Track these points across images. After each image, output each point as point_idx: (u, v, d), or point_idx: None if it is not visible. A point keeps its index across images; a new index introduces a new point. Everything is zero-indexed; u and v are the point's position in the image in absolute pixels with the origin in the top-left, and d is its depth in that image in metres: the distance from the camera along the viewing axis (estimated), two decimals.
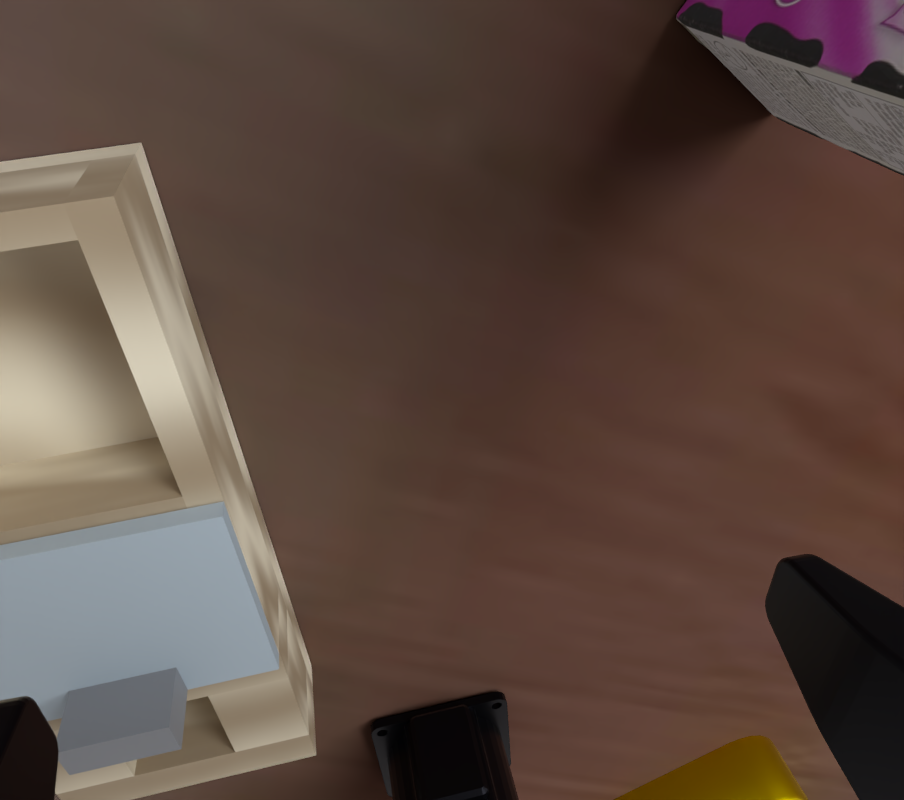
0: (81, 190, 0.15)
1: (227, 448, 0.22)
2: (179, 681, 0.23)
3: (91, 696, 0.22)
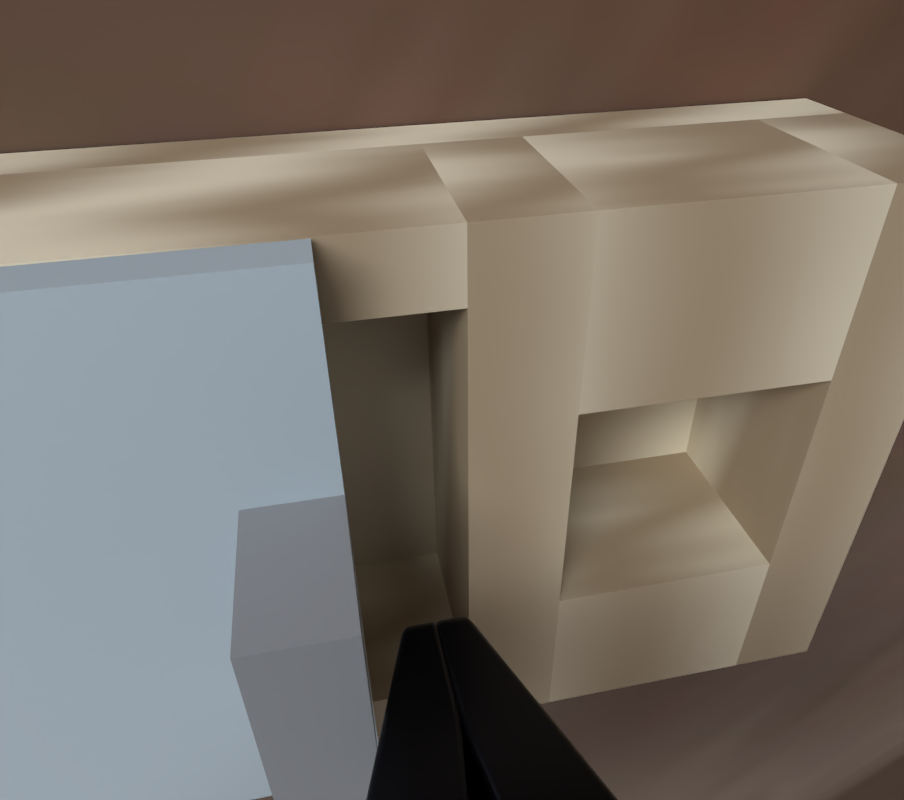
0: None
1: None
2: (274, 518, 0.08)
3: None
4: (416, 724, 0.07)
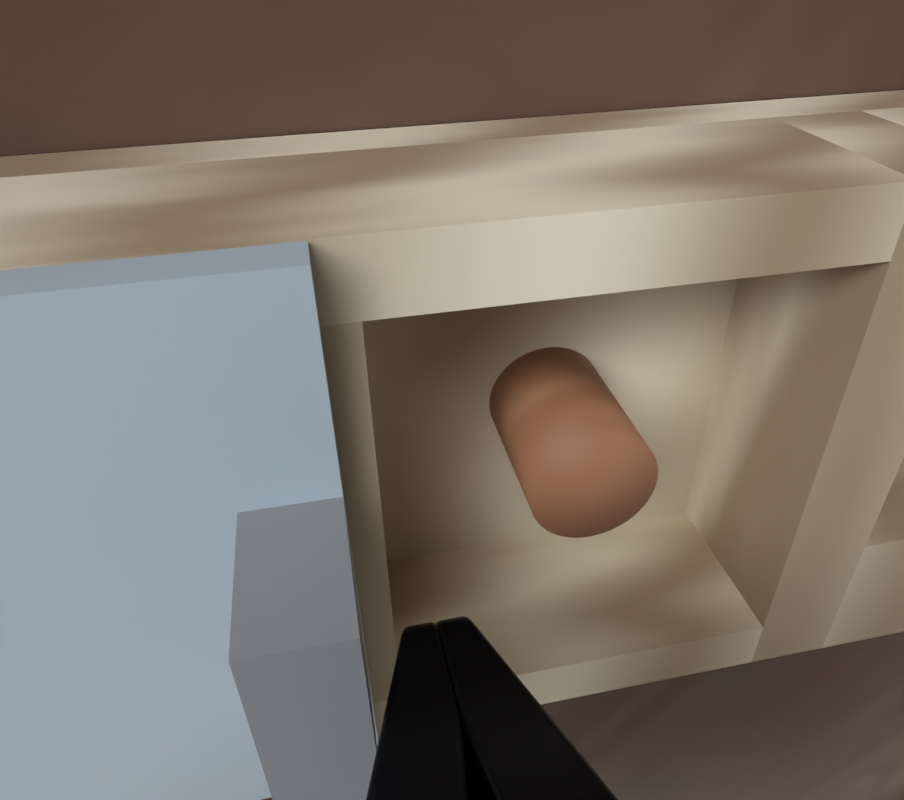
0: None
1: (302, 170, 0.09)
2: (272, 521, 0.08)
3: None
4: (416, 724, 0.07)
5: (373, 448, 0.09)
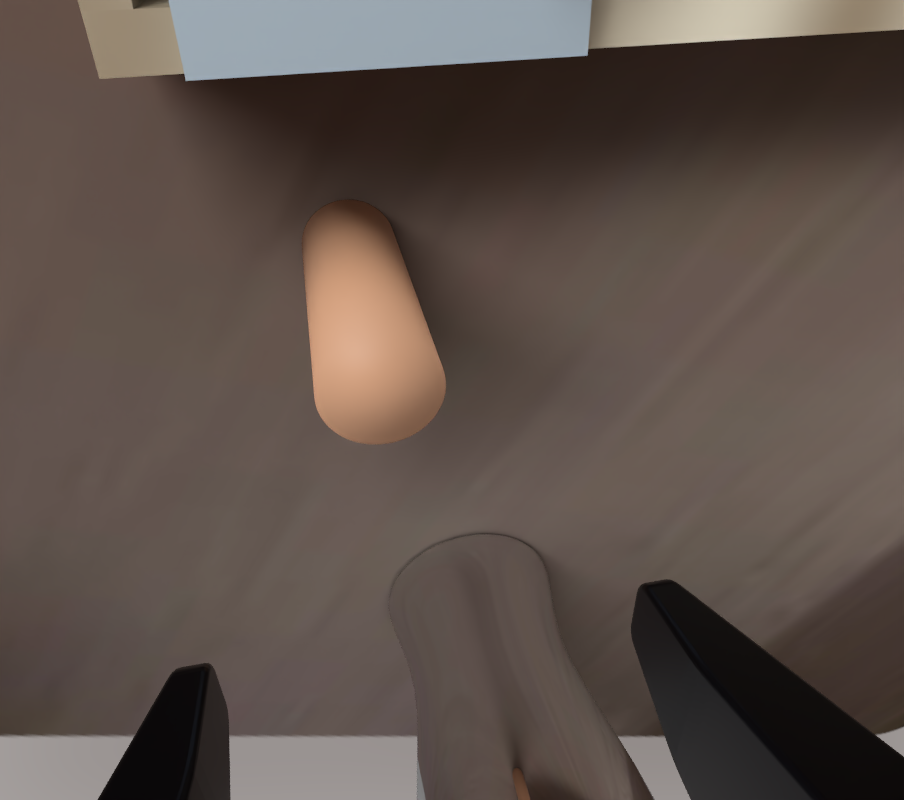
0: None
1: None
2: None
3: None
4: (142, 780, 0.07)
5: None
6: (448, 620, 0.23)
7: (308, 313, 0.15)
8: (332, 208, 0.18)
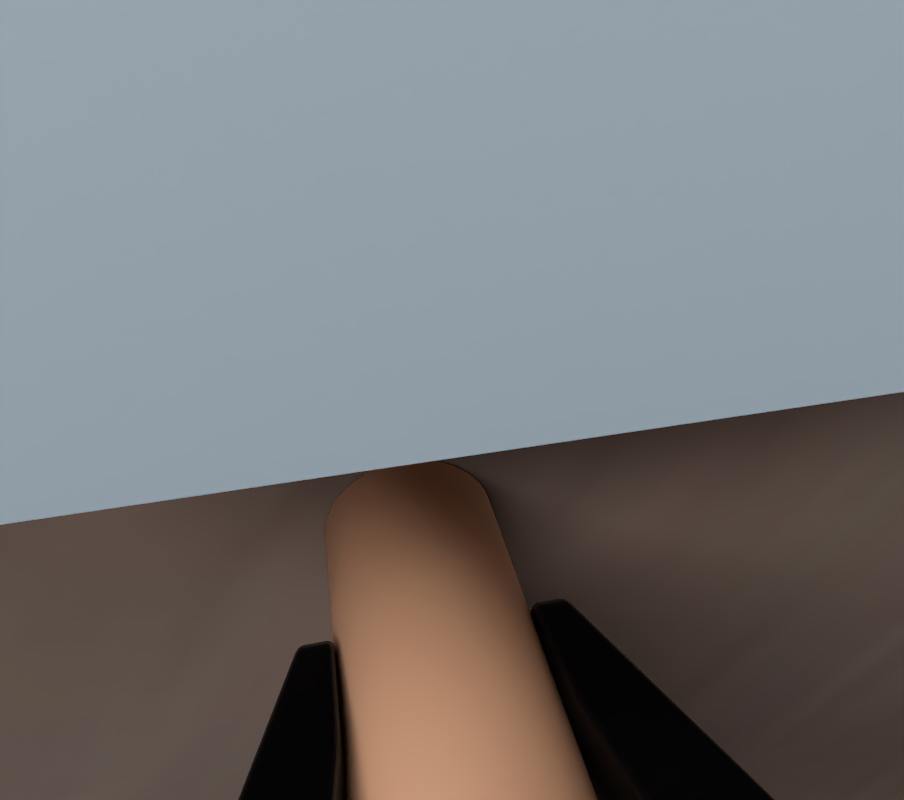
0: None
1: None
2: None
3: None
4: (291, 750, 0.07)
5: None
6: None
7: None
8: (385, 488, 0.09)
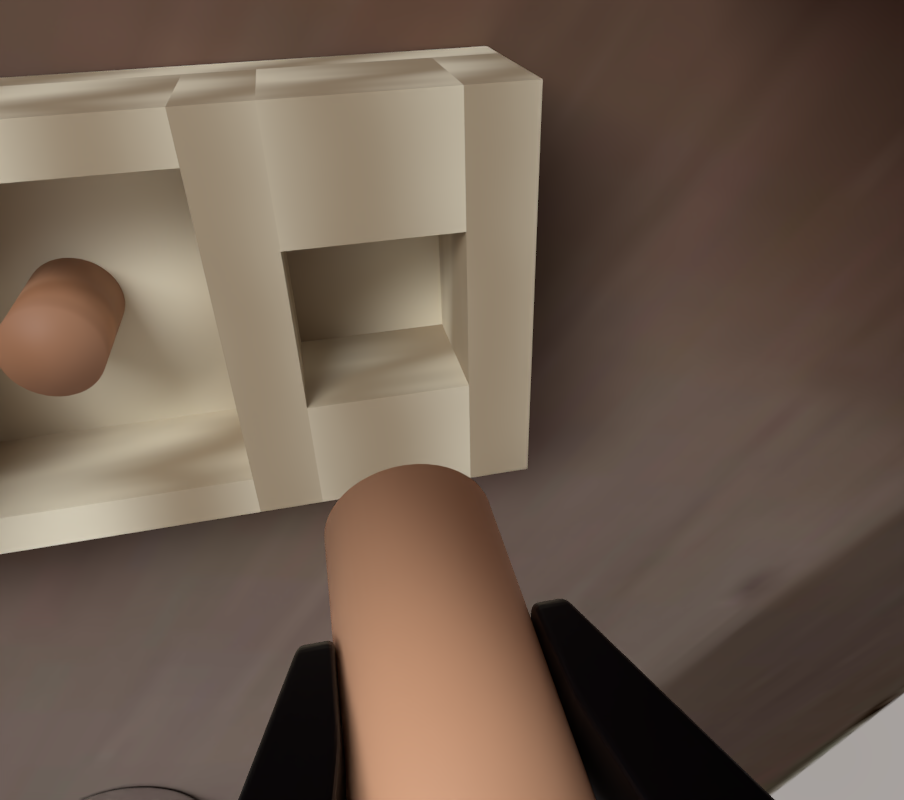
0: None
1: None
2: None
3: None
4: (291, 749, 0.07)
5: None
6: None
7: None
8: (385, 492, 0.09)
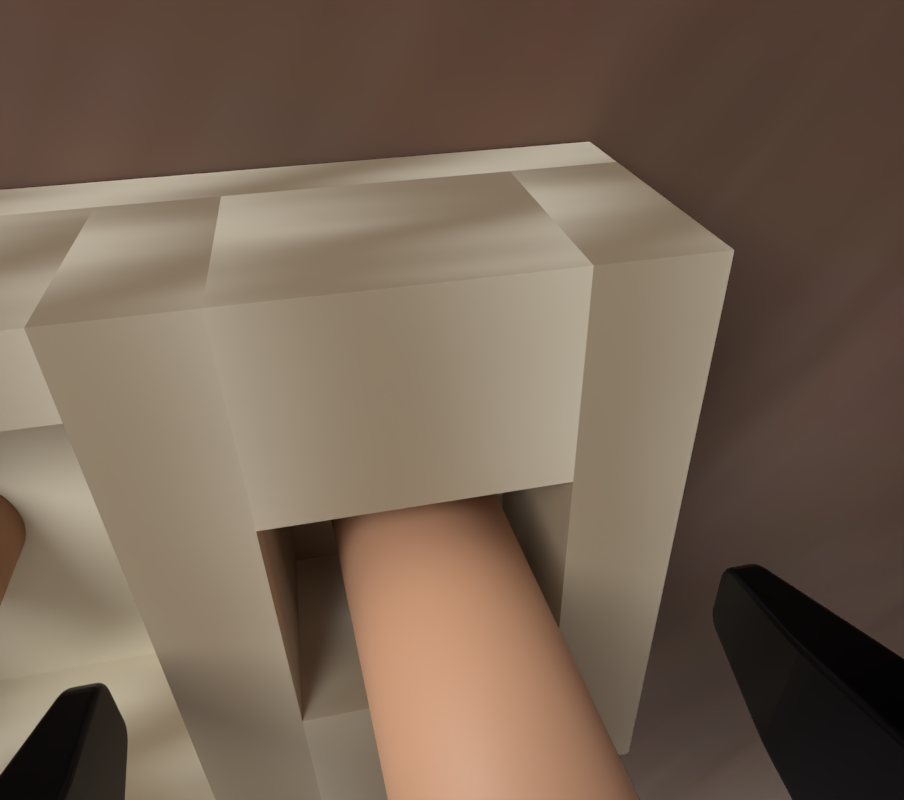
0: None
1: None
2: None
3: None
4: None
5: None
6: None
7: (374, 712, 0.08)
8: None
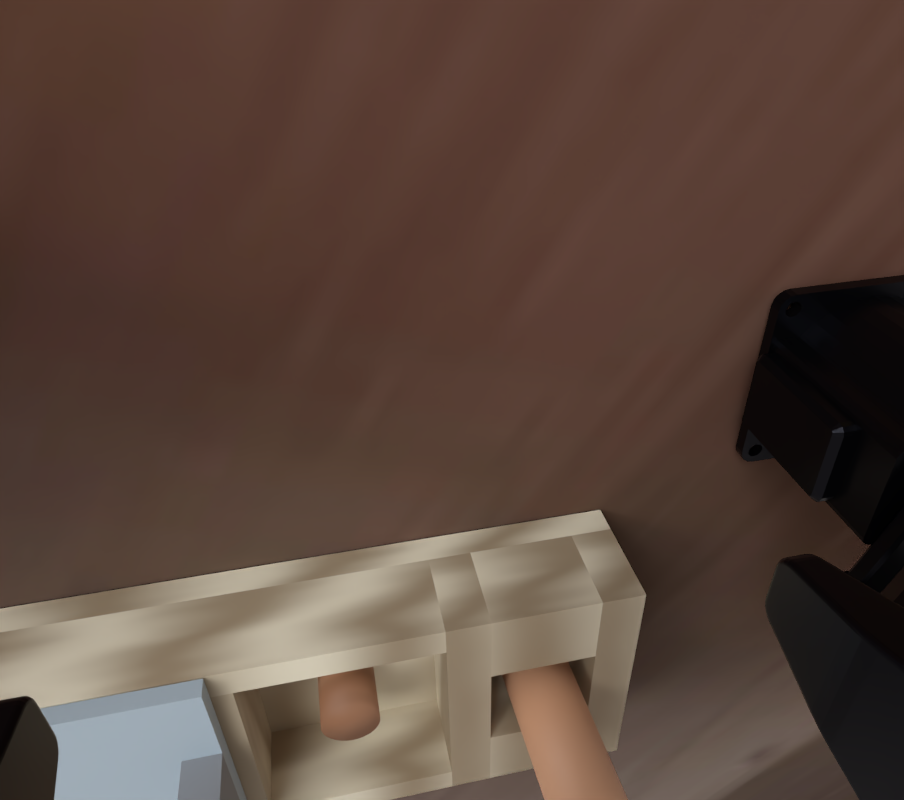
0: None
1: (215, 613, 0.23)
2: (194, 765, 0.22)
3: None
4: None
5: (243, 726, 0.23)
6: None
7: (525, 735, 0.24)
8: None
